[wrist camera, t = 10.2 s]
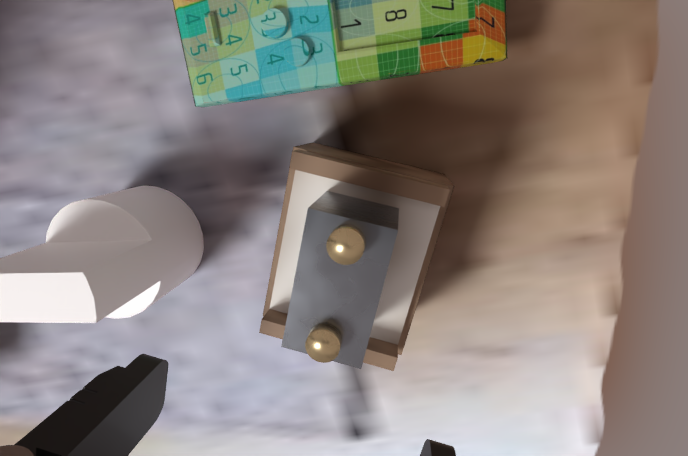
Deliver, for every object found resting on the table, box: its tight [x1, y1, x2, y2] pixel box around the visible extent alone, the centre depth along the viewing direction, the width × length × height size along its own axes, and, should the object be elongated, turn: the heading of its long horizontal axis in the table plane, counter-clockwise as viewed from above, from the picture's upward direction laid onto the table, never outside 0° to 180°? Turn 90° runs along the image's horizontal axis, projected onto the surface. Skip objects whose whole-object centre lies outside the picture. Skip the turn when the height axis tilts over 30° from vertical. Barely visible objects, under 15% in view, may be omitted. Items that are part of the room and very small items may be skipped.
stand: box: [259, 143, 454, 371], centre depth 27 cm, size 10×12×8 cm
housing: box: [281, 191, 399, 369], centre depth 22 cm, size 8×4×6 cm, turn 168°
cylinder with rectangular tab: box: [0, 186, 204, 323], centre depth 27 cm, size 9×9×12 cm
